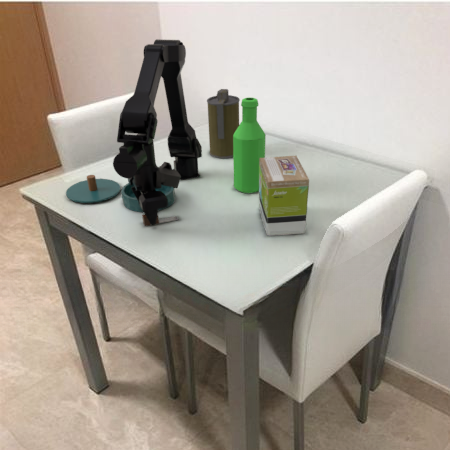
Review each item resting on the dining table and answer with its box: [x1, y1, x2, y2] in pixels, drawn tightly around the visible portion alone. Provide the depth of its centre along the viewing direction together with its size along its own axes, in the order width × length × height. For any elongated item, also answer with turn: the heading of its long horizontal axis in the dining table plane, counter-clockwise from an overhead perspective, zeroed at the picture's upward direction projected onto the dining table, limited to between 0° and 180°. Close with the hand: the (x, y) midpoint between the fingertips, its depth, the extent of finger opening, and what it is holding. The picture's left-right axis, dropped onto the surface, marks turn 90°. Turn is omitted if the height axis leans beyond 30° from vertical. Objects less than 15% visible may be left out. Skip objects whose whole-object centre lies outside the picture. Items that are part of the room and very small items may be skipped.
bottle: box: [232, 97, 266, 194], centre depth 137 cm, size 9×9×25 cm
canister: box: [206, 88, 241, 159], centre depth 161 cm, size 11×10×20 cm
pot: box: [120, 182, 176, 213], centre depth 138 cm, size 14×14×4 cm
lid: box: [65, 174, 121, 204], centre depth 142 cm, size 15×15×5 cm
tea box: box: [258, 155, 310, 237], centre depth 123 cm, size 15×10×15 cm, turn 5°
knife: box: [141, 214, 179, 227], centre depth 128 cm, size 9×2×2 cm, turn 110°
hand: (150, 219), depth 128 cm, fingers open, 6 cm apart
